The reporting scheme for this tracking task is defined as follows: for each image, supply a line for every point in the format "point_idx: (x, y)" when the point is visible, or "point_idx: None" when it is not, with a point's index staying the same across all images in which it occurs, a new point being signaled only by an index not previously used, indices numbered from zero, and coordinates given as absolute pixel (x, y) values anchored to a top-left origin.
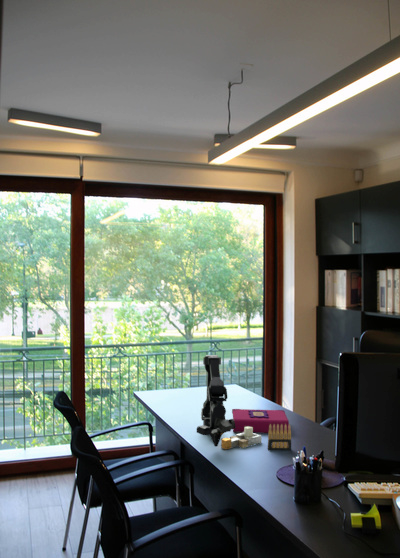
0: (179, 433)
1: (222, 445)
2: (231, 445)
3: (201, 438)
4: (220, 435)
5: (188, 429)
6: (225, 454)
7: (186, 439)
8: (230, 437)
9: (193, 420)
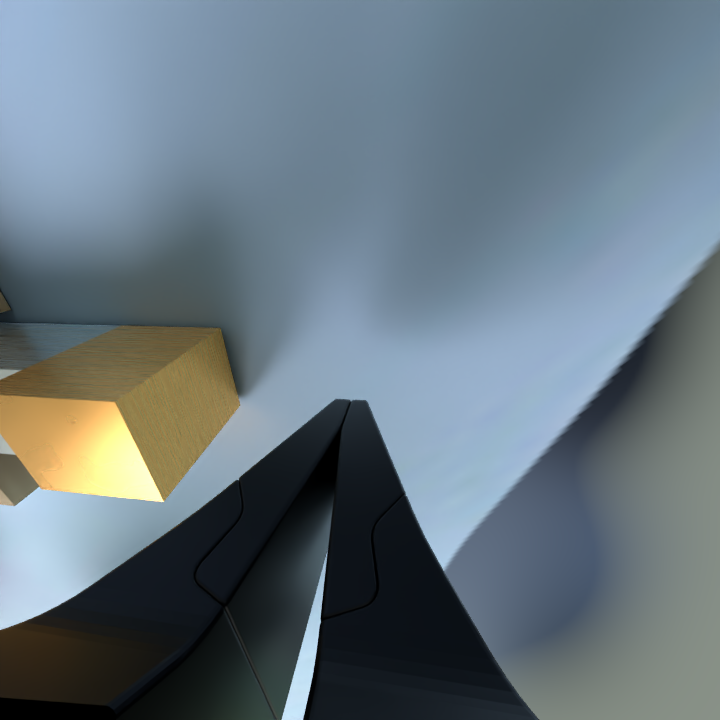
0: None
1: (215, 407)
2: (87, 338)
3: None
4: (150, 595)
5: None
6: (333, 163)
7: None
8: (9, 491)
9: None
